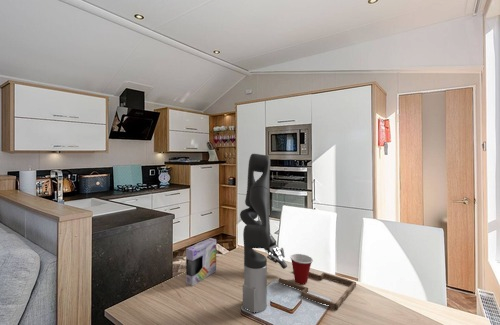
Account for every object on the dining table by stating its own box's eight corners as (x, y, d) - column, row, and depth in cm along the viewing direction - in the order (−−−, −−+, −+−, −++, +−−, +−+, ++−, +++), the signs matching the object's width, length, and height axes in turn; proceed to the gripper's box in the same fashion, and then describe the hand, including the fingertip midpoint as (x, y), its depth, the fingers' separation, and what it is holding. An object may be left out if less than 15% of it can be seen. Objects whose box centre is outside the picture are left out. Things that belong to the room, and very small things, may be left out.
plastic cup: (315, 287, 120) (315, 262, 120) (291, 287, 120) (292, 261, 120) (310, 276, 131) (310, 253, 131) (288, 276, 131) (288, 253, 131)
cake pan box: (191, 287, 120) (191, 250, 120) (183, 284, 123) (183, 248, 122) (217, 271, 137) (217, 238, 136) (210, 269, 139) (209, 237, 139)
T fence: (336, 310, 102) (337, 305, 102) (274, 286, 121) (274, 281, 121) (355, 286, 121) (356, 282, 121) (298, 268, 140) (298, 265, 140)
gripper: (262, 238, 132) (283, 268, 124) (276, 232, 142) (296, 259, 134) (254, 246, 135) (274, 276, 128) (269, 239, 145) (287, 267, 138)
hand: (285, 267), depth 131 cm, fingers closed
